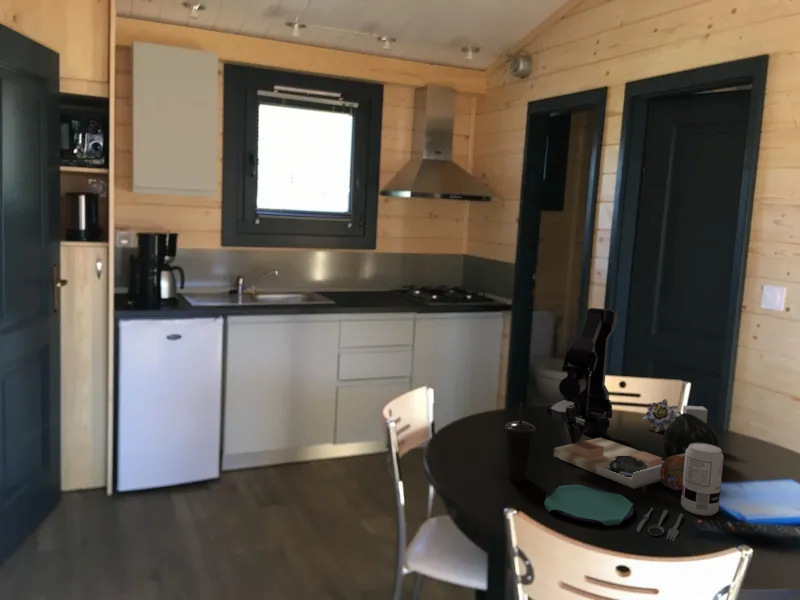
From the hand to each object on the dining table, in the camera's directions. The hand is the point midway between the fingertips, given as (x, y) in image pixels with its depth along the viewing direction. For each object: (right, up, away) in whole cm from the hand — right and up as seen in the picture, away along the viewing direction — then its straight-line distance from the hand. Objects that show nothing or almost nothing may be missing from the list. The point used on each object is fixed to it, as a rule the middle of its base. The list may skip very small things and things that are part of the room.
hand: (574, 445), depth 200 cm
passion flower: (+36, -2, +31) cm, 48 cm away
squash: (+32, -5, +1) cm, 33 cm away
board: (+7, -4, 0) cm, 8 cm away
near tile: (+3, -2, -4) cm, 5 cm away
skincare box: (+39, -4, +15) cm, 42 cm away
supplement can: (+21, -9, -32) cm, 40 cm away
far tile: (+18, -4, -5) cm, 19 cm away
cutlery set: (-1, -9, -37) cm, 38 cm away
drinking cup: (-19, -5, -17) cm, 26 cm away
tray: (+14, -5, -11) cm, 19 cm away
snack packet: (+23, -7, -18) cm, 30 cm away
